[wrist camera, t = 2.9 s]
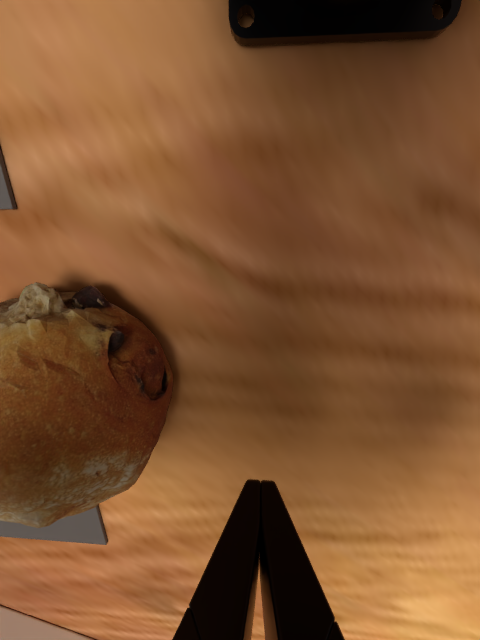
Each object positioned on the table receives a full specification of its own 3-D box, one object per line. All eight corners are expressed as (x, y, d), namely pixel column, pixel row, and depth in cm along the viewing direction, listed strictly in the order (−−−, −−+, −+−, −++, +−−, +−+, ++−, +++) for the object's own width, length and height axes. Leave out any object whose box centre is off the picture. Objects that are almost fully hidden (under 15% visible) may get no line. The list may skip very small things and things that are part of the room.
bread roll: (26, 335, 18) (-126, 460, 12) (19, 209, 11) (-352, 374, 5) (159, 415, 20) (76, 557, 14) (230, 353, 12) (117, 593, 7)
